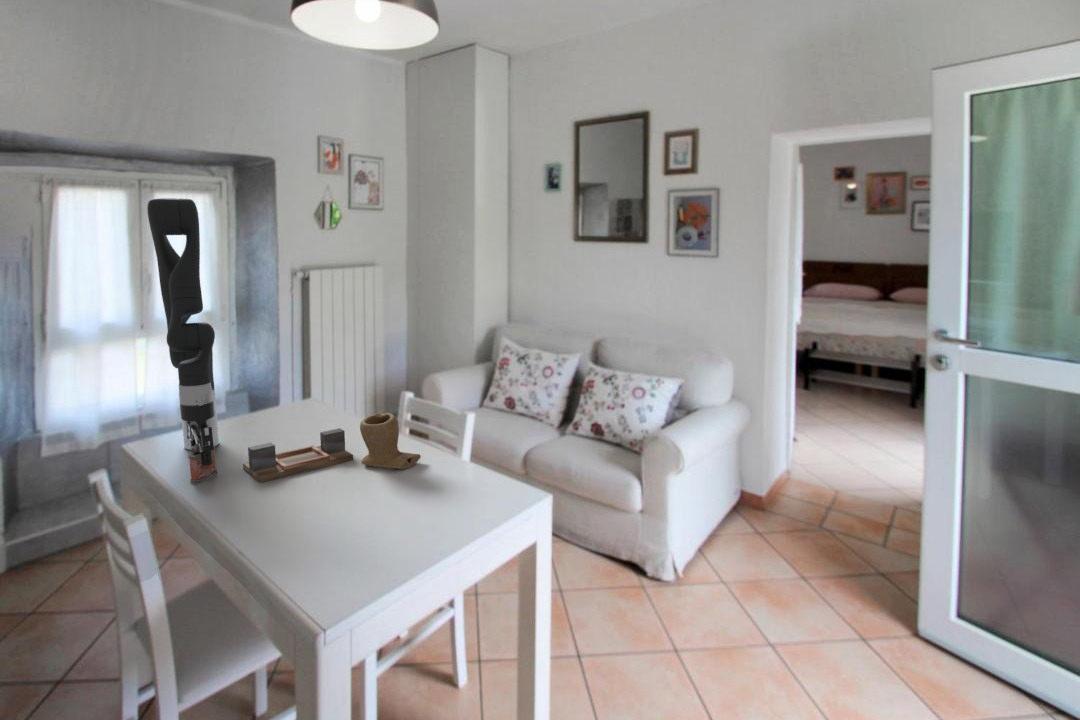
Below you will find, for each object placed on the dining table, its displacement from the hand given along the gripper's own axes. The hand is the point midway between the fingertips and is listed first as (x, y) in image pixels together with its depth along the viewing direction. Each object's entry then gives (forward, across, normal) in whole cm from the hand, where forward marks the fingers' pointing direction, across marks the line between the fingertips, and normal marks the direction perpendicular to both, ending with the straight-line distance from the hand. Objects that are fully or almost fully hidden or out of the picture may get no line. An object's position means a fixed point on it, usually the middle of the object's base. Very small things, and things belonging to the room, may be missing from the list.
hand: (201, 460), depth 162 cm
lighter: (+5, 0, 0) cm, 5 cm away
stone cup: (+5, +22, +42) cm, 47 cm away
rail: (+5, +5, +23) cm, 25 cm away
